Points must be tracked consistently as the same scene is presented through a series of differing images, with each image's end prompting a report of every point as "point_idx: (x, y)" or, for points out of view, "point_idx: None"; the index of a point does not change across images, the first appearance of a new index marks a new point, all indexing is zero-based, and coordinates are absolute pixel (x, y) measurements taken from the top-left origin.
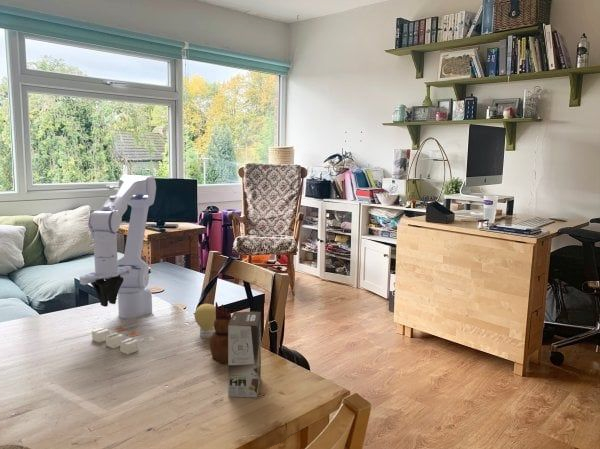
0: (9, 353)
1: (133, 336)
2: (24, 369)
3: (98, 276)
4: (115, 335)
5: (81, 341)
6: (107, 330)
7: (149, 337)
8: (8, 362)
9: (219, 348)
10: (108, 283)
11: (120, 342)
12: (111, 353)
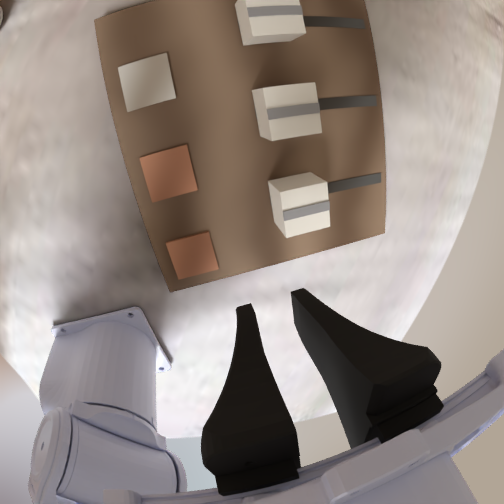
0: (436, 271)
1: (178, 146)
2: (461, 169)
3: (480, 416)
4: (291, 104)
5: None
6: (286, 190)
7: (130, 95)
8: (457, 227)
9: None
10: (390, 379)
11: (304, 31)
12: None
